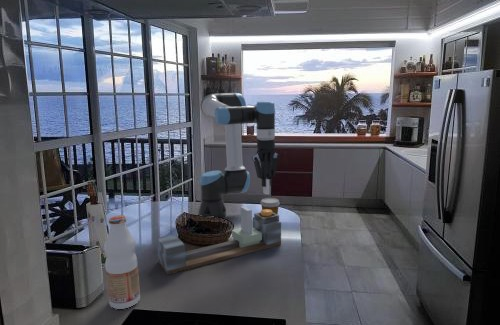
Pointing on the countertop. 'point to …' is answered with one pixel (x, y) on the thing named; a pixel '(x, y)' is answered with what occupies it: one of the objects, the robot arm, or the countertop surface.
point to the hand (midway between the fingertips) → (266, 193)
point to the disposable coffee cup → (270, 204)
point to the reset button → (266, 213)
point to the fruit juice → (121, 265)
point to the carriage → (246, 230)
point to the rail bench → (221, 255)
